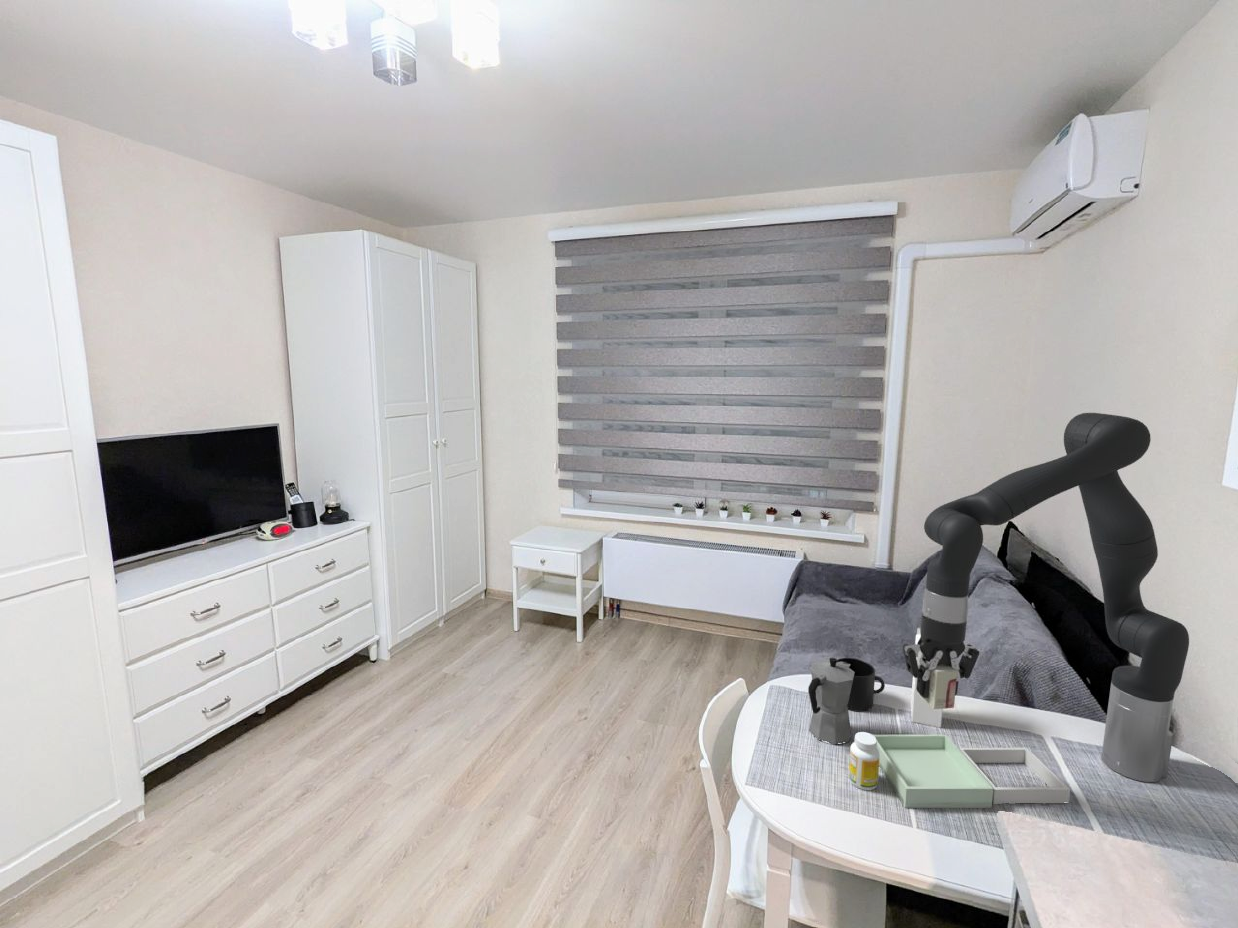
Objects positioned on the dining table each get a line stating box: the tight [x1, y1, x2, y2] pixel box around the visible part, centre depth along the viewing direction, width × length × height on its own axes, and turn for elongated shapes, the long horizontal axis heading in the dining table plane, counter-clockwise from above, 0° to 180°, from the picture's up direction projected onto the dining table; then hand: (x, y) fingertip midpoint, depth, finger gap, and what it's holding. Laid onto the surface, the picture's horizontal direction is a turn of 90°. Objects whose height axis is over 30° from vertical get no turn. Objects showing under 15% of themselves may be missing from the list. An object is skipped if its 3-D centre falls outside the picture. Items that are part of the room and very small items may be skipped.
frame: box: [957, 747, 1071, 805], centre depth 113 cm, size 14×12×3 cm
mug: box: [836, 657, 886, 712], centre depth 140 cm, size 9×12×9 cm
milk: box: [910, 627, 943, 729], centre depth 132 cm, size 6×6×22 cm
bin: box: [872, 734, 993, 809], centre depth 114 cm, size 16×16×4 cm
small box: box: [919, 661, 957, 710], centre depth 111 cm, size 5×4×8 cm
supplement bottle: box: [848, 731, 880, 791], centre depth 113 cm, size 5×5×10 cm
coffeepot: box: [807, 657, 855, 745], centre depth 127 cm, size 15×9×18 cm, turn 129°
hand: (936, 695), depth 111 cm, fingers closed on small box, 4 cm apart
